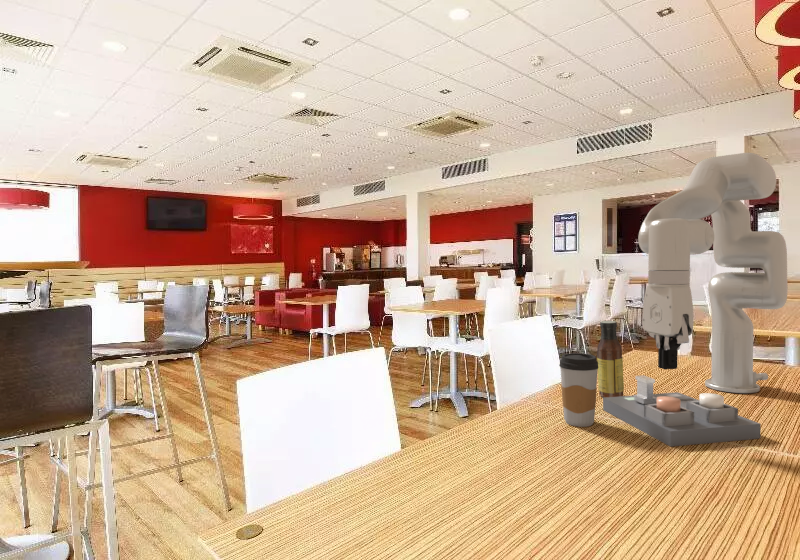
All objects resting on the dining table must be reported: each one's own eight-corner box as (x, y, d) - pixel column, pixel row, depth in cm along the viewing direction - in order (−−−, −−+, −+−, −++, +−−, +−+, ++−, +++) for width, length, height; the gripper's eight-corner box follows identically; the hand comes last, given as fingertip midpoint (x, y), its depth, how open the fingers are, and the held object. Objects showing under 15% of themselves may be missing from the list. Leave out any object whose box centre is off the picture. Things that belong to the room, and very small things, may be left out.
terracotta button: (670, 406, 109) (670, 395, 109) (685, 413, 104) (685, 401, 104) (651, 408, 108) (652, 397, 108) (665, 414, 104) (665, 402, 104)
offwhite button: (712, 403, 110) (712, 392, 110) (728, 409, 106) (729, 398, 106) (694, 404, 110) (694, 393, 109) (709, 411, 105) (710, 399, 105)
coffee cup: (600, 418, 117) (599, 353, 116) (597, 430, 110) (597, 361, 109) (562, 414, 121) (561, 351, 120) (557, 425, 113) (556, 358, 112)
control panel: (677, 404, 127) (678, 382, 126) (760, 438, 103) (760, 411, 103) (603, 409, 124) (603, 387, 123) (670, 446, 100) (670, 418, 100)
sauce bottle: (619, 393, 137) (619, 319, 136) (627, 399, 131) (627, 323, 130) (594, 393, 138) (594, 320, 137) (601, 399, 132) (600, 323, 131)
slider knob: (645, 398, 121) (646, 375, 120) (656, 403, 117) (657, 379, 117) (633, 399, 120) (633, 376, 120) (644, 404, 116) (644, 380, 116)
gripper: (629, 278, 111) (629, 362, 112) (677, 281, 97) (676, 377, 97) (661, 277, 113) (660, 360, 113) (712, 280, 98) (711, 375, 99)
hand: (667, 368), depth 105 cm, fingers closed
